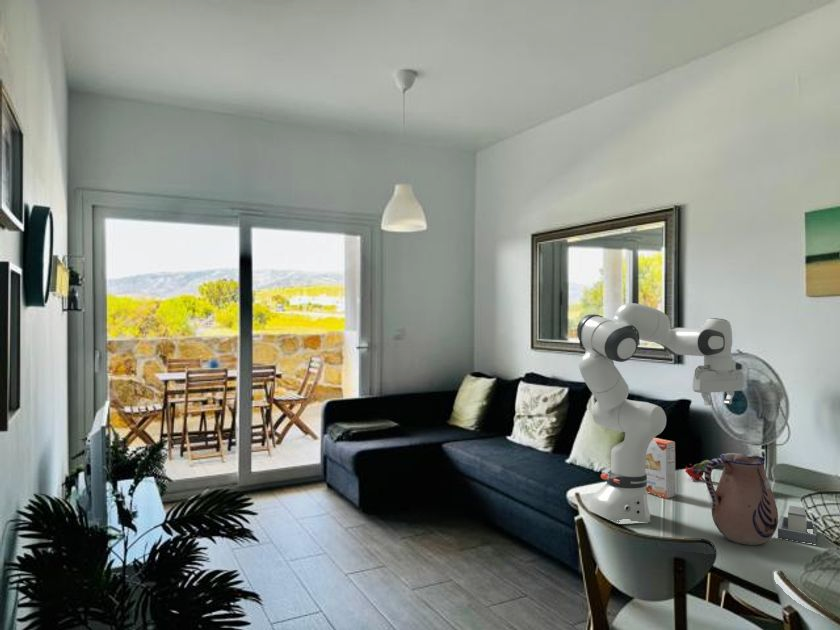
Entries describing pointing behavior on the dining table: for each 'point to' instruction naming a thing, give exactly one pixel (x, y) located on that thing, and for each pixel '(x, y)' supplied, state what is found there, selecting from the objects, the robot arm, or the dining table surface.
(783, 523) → the charcoal tray
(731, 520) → the ceramic pitcher
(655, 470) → the cracker box
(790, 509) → the caddy
